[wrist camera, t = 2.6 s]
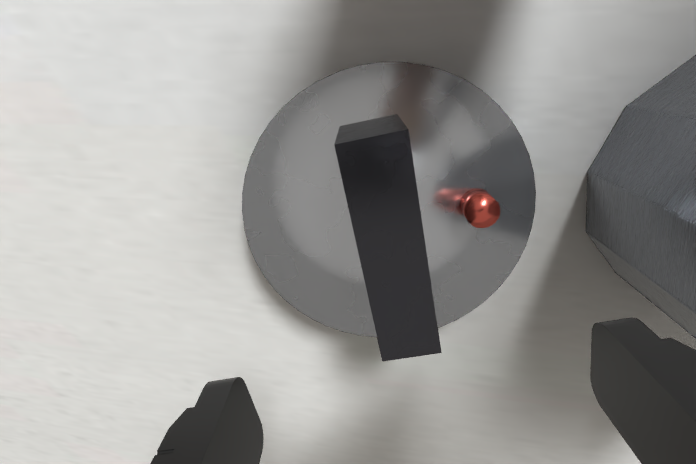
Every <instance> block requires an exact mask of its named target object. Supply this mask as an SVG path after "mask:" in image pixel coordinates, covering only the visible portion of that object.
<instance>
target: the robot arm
mask: <svg viewBox="0 0 696 464" xmlns="http://www.w3.org/2000/svg"><path fill="white" fill-rule="evenodd" d="M591 384H592V388H593V391H594V394H595V396H596V399H597V401H598V403H599V404H600V406H601V408H602V409H603V411H604V412H605V413H606V415H607V416H608V417H609V419H610V420H611V422H612V423H613V424H614V426H615V427H616V429H617V430H618V431H619V433H620V434H621V436H622V437H623V438H624V440H625V441H626V443H627V444H628V445H629V447H630V448H631V450H632V451H633V452H634V454H635V455H636V456H637V458H638V459H639V461H640V462H641V463H642V464H696V350H694V349H692V348H690V347H688V346H686V345H684V344H682V343H680V342H678V341H676V340H674V339H672V338H667V339H660V338H659V337H658V336H657V335H656V334H655V333H654V332H653V331H651V330H650V329H649V328H648V327H647V326H646V325H645V324H644V323H642V322H641V321H640V320H638V319H637V318H626V319H619V320H613V321H606V322H600V323H595V324H594V326H593V328H592V343H591ZM262 449H263V429H262V424H261V421H260V419H259V416H258V414H257V411H256V409H255V406H254V404H253V401H252V399H251V396H250V394H249V391H248V389H247V386H246V384H245V382H244V380H243V379H242V378H240V377H237V378H230V379H224V380H217V381H211V382H208V383H207V384H206V385H205V387H204V388H203V390H202V392H201V395H200V397H199V399H198V401H197V403H196V405H195V407H193V408H187V409H186V410H185V411H184V412H183V413H182V415H181V416H180V417H179V418H178V419H177V420H176V421H175V422H174V423H173V424H172V426H171V427H170V428H169V429H168V431H167V433H166V435H165V437H164V439H163V441H162V443H161V445H160V447H159V448H158V450H157V452H158V453H157V455H155V456H154V458H153V460H152V462H151V464H259V462H260V458H261V454H262Z"/></svg>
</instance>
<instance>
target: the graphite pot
mask: <svg viewBox="0 0 696 464" xmlns="http://www.w3.org/2000/svg"><path fill="white" fill-rule="evenodd" d="M587 173H588V179H587V214H586V232H587V233H588V235H589V236H590V238H591V239H592V240H593V242H594V243H595V245H596V246H597V247H598V249H599V250H600V251H601V253H602V254H603V256H604V257H605V258H606V260H607V261H608V263H609V264H610V265H611V267H612V268H613V270H614V271H615V273H617V274H618V275H619V276H620V277H621V278H623V279H624V280H625V281H626V282H628V283H629V284H630V285H631V286H632V287H634V288H635V289H636V290H637V291H639V292H640V293H641V294H642V295H643V296H645V297H646V298H647V299H648V300H650V301H651V302H652V303H653V304H654V305H656V306H657V307H658V308H659V309H661V310H662V311H663V312H664V313H665V314H667V315H668V316H669V317H670V318H671V319H673V320H674V321H675V322H676V323H678V324H679V325H680V326H681V327H682V328H684V329H685V330H686V331H687V332H689V333H690V334H691V335H692V336H693V337H695V338H696V55H695V56H694V57H693V58H691V59H690V60H689V61H687V62H686V63H684V64H683V65H682V66H680V67H679V68H678V69H676V70H675V71H674V72H672V73H671V74H670V75H668V76H667V77H665V78H664V79H663V80H661V81H660V82H659V83H657V84H656V85H655V86H653V87H652V88H651V89H649V90H648V91H646V92H645V93H644V94H642V95H641V96H640V97H638V98H637V99H636V100H634V101H633V102H632V103H630V104H629V105H627V106H626V108H625V109H624V111H623V113H622V114H621V116H620V118H619V120H618V121H617V123H616V125H615V126H614V128H613V130H612V131H611V133H610V135H609V137H608V138H607V140H606V142H605V143H604V145H603V147H602V148H601V150H600V152H599V154H598V155H597V157H596V159H595V160H594V162H593V164H592V165H591V167H590V169H589V171H588V172H587Z"/></svg>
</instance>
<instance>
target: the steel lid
mask: <svg viewBox="0 0 696 464" xmlns="http://www.w3.org/2000/svg"><path fill="white" fill-rule="evenodd" d="M535 196H536V191H535V180H534V172H533V168H532V164H531V160H530V156H529V153H528V151H527V149H526V146H525V144H524V141H523V139H522V137H521V135H520V134H519V132H518V130H517V129H516V127H515V125H514V124H513V122H512V120H511V119H510V118H509V117H508V116H507V114H506V113H505V112H504V111H503V110H502V108H501V107H500V106H499V105H498V104H497V103H496V102H495V101H494V100H492V99H491V98H490V97H489V96H488V95H487V94H486V93H484V92H483V91H482V90H480V89H479V88H477V87H476V86H474V85H473V84H471V83H469V82H468V81H466V80H465V79H462V78H460V77H458V76H456V75H453V74H451V73H449V72H447V71H444V70H440V69H437V68H433V67H430V66H426V65H421V64H413V63H405V62H378V63H372V64H365V65H359V66H355V67H352V68H349V69H345V70H342V71H339V72H336V73H334V74H332V75H330V76H328V77H326V78H324V79H321V80H319V81H317V82H316V83H314V84H312V85H311V86H309V87H308V88H306V89H305V90H303V91H302V92H300V93H299V94H298V95H296V96H295V97H294V98H293V99H292V100H291V101H289V102H288V103H287V104H286V105H285V106H284V107H283V108H282V109H281V110H280V111H279V112H278V114H277V115H276V116H275V117H274V118H273V119H272V120H271V122H270V123H269V124H268V126H267V127H266V129H265V131H264V132H263V134H262V135H261V137H260V138H259V140H258V142H257V144H256V146H255V149H254V151H253V153H252V155H251V157H250V161H249V164H248V167H247V171H246V174H245V180H244V186H243V193H242V214H243V221H244V229H245V233H246V236H247V240H248V244H249V247H250V249H251V252H252V254H253V256H254V259H255V261H256V263H257V264H258V266H259V268H260V270H261V271H262V273H263V275H264V276H265V278H266V279H267V280H268V281H269V283H270V284H271V285H272V287H273V288H274V289H275V290H276V291H277V292H278V293H279V294H280V295H281V296H282V297H283V298H284V299H285V300H286V301H287V302H288V303H289V304H291V305H292V306H293V307H295V308H296V309H297V310H298V311H300V312H301V313H303V314H305V315H306V316H308V317H310V318H311V319H313V320H315V321H317V322H319V323H321V324H323V325H326V326H328V327H331V328H334V329H337V330H340V331H342V332H347V333H351V334H356V335H362V336H371V337H377V339H378V343H379V348H380V352H381V357H382V361H388V360H395V359H402V358H409V357H416V356H422V355H429V354H436V353H441V347H440V340H439V334H438V328H439V327H441V326H444V325H446V324H448V323H450V322H453V321H455V320H457V319H459V318H460V317H462V316H464V315H466V314H467V313H469V312H471V311H472V310H473V309H475V308H476V307H477V306H479V305H480V304H481V303H483V302H484V301H485V300H486V299H487V298H489V297H490V296H491V295H492V294H493V293H494V292H495V291H496V290H497V289H498V288H499V287H500V285H501V284H502V283H503V282H504V281H505V280H506V278H507V277H508V276H509V274H510V273H511V271H512V270H513V268H514V267H515V265H516V264H517V262H518V260H519V258H520V256H521V254H522V252H523V250H524V248H525V246H526V243H527V240H528V237H529V234H530V231H531V228H532V223H533V217H534V212H535Z"/></svg>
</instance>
